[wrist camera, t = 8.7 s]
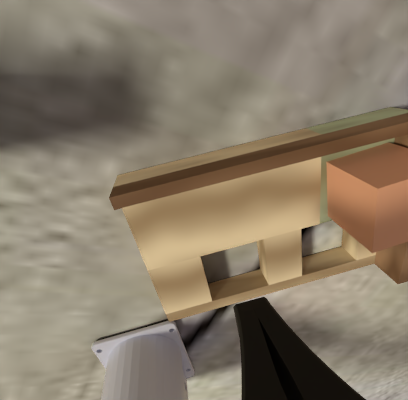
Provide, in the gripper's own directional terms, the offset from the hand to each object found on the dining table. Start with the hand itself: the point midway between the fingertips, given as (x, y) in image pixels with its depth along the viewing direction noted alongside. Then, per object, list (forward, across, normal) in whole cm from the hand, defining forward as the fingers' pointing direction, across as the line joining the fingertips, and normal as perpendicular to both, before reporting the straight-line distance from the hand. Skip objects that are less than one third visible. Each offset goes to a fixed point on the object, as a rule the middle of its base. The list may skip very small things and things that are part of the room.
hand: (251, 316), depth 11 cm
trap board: (+10, -4, +2) cm, 11 cm away
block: (+8, -11, 0) cm, 13 cm away
